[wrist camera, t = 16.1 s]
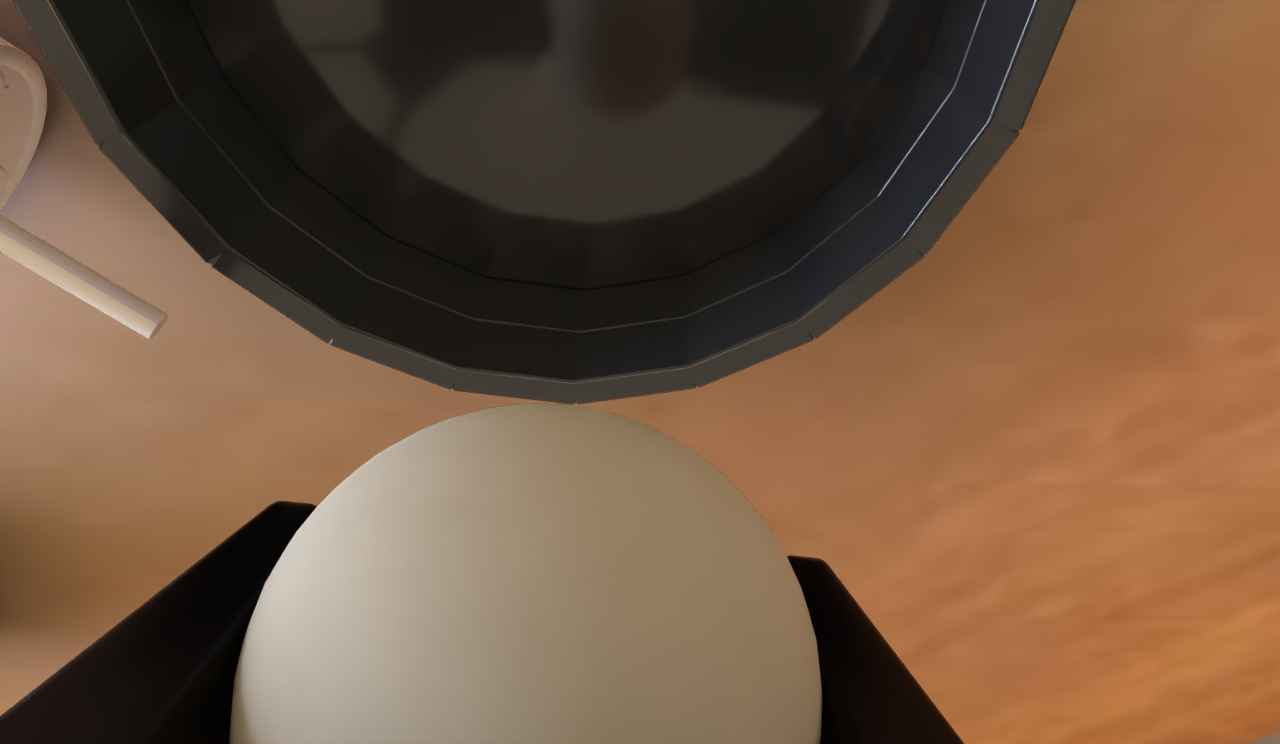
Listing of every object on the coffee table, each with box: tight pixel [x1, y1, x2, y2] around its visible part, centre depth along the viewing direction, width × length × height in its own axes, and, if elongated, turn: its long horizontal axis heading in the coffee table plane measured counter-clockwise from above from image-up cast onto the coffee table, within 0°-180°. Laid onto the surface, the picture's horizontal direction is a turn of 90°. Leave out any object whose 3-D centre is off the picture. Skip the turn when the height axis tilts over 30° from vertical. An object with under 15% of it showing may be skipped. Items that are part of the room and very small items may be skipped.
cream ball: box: [230, 403, 822, 744], centre depth 7 cm, size 5×5×5 cm
